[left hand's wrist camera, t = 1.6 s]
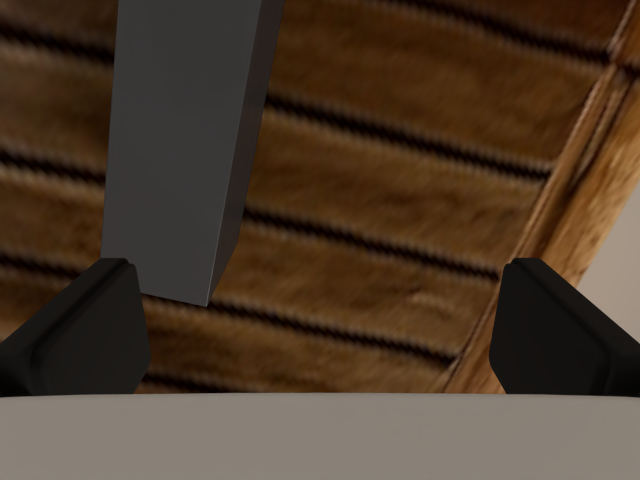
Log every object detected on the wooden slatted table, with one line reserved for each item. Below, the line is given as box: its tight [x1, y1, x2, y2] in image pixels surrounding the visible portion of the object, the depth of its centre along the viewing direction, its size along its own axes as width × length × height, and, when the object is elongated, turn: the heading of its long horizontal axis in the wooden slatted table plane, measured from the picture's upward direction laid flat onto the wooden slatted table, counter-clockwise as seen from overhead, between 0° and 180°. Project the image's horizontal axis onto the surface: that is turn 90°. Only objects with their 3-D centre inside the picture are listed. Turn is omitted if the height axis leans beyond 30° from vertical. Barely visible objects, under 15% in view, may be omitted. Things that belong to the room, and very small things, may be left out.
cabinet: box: [100, 0, 285, 307], centre depth 26 cm, size 21×6×10 cm, turn 166°
